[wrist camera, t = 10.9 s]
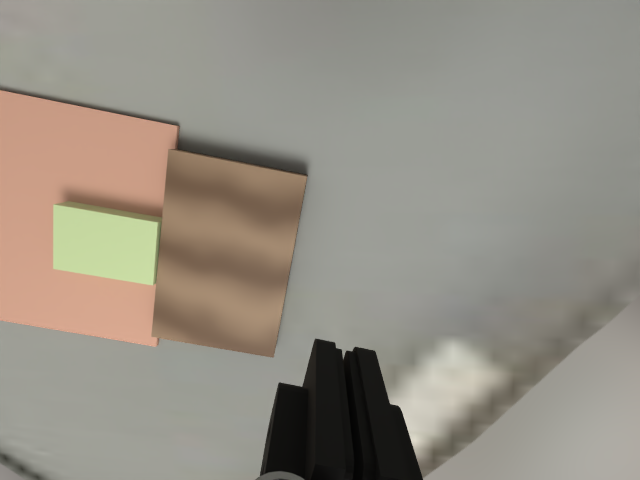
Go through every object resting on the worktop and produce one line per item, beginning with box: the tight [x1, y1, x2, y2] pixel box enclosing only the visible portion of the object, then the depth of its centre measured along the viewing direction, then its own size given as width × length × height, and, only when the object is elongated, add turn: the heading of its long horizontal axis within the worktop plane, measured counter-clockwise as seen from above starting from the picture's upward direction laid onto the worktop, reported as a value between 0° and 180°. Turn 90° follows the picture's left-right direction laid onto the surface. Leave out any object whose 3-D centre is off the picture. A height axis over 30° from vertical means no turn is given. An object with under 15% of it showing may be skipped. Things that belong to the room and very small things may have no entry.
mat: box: [0, 90, 180, 347], centre depth 34 cm, size 22×16×1 cm
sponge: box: [53, 201, 162, 285], centre depth 33 cm, size 6×9×2 cm, turn 80°
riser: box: [151, 149, 308, 357], centre depth 34 cm, size 18×12×2 cm, turn 169°
